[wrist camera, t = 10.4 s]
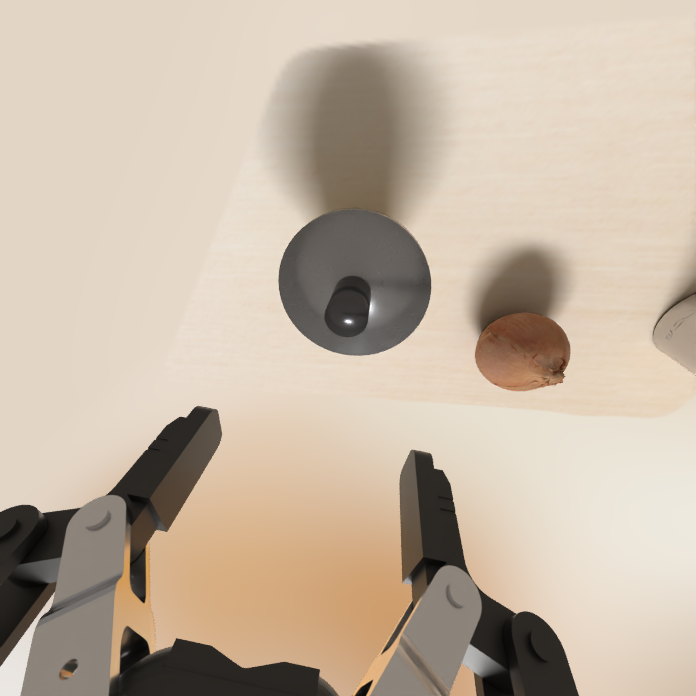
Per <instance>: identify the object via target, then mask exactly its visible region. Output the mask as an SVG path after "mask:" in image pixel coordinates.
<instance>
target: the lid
mask: <svg viewBox="0 0 696 696" xmlns="http://www.w3.org/2000/svg"><path fill="white" fill-rule="evenodd" d="M279 291H280V296H281V300H282V303H283V306H284V308H285V310H286V312H287V314H288V316H289V318H290V319H291V321H292V322H293V324H294V325H295V326H296V327H297V329H298V330H299V331H300V332H301V333H302V334H303V335H304V336H306V337H307V338H308V339H309V340H311V341H312V342H314V343H315V344H317V345H319V346H321V347H323V348H325V349H327V350H330V351H333V352H336V353H340V354H345V355H358V356H361V355H370V354H375V353H379V352H382V351H385V350H388V349H390V348H392V347H394V346H396V345H397V344H399V343H401V342H402V341H403V340H405V339H406V338H407V337H408V336H409V335H410V334H411V333H412V332H413V331H414V330H415V329H416V328H417V326H418V325H419V324H420V322H421V320H422V319H423V317H424V315H425V312H426V310H427V308H428V304H429V300H430V294H431V276H430V271H429V267H428V264H427V261H426V258H425V255H424V253H423V251H422V249H421V247H420V245H419V244H418V242H417V241H416V239H415V238H414V236H413V235H412V234H411V233H410V232H409V231H408V230H407V229H406V228H405V227H404V226H402V225H401V224H400V223H399V222H397V221H396V220H394V219H392V218H390V217H389V216H387V215H384V214H382V213H379V212H376V211H372V210H368V209H360V208H345V209H340V210H334V211H331V212H328V213H326V214H323V215H321V216H319V217H317V218H316V219H314V220H312V221H311V222H310V223H308V224H307V225H306V226H304V227H303V228H302V229H301V230H300V231H299V232H298V233H297V234H296V235H295V236H294V238H293V239H292V240H291V242H290V243H289V245H288V247H287V248H286V250H285V252H284V255H283V258H282V261H281V265H280V269H279Z"/></svg>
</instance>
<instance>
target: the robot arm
mask: <svg viewBox="0 0 696 696" xmlns="http://www.w3.org/2000/svg"><path fill="white" fill-rule="evenodd" d="M653 340H654V344H655V345H656V347H657V348H658V349H659V350H660V351H661V352H663V353H664V354H666V355H667V356H669V357H670V358H671V359H673V360H674V361H676V362H677V363H679V364H680V365H681V366H683V367H684V368H686V369H687V370H688V371H690V372H691V373H693V374H694V375H695V376H696V294H694V295H691V296H690V297H688V298H686V299H684V300H683V301H681V302H679V303H678V304H677V305H675V306H674V307H673V308H671V309H670V310H669V311H668V312H667V313H666V314H665V315H664V316H663V317H662V318H661V320H660V321H659V322H658V324H657V326H656V328H655V330H654V335H653ZM221 436H222V431H221V425H220V420H219V414H218V411H217V410H216V409H211V408H207V407H201V406H197V407H195V408H194V409H193V410H192V411H191V413H190V414H189V415H188V416H187V418H184V417H179V418H177V419H176V420H174V421H173V422H171V423H170V424H168V425H167V426H166V427H165V428H164V429H163V430H162V432H161V433H160V434H159V435H158V436H157V438H156V440H154V441H153V442H152V444H151V445H150V446H149V447H148V450H146V451H145V452H144V453H143V455H141V457H140V458H139V459H138V460H137V461H136V463H135V464H134V465H133V466H132V467H131V468H130V470H129V471H128V472H127V473H126V474H125V476H124V477H123V478H122V479H121V480H120V482H119V483H118V484H117V485H116V486H115V487H114V488H113V489H112V490H111V491H110V492H109V493H108V494H107V495H106V496H103V497H99V498H97V499H95V500H93V501H91V502H89V503H87V504H86V505H84V506H83V507H81V508H77V509H70V510H63V511H55V512H47V513H41V512H40V511H39V510H38V509H37V508H36V507H34V506H31V505H19V506H15V507H11V508H9V509H6V510H4V511H2V512H0V666H1V665H2V664H3V662H4V661H5V659H6V658H7V657H8V655H9V654H10V652H11V651H12V650H13V648H14V647H15V646H16V644H17V643H18V641H19V640H20V639H21V637H22V636H23V635H24V633H25V632H26V630H27V629H28V628H29V626H30V625H31V624H32V622H33V621H34V619H35V618H36V617H37V615H38V614H39V612H40V611H41V610H42V608H43V607H44V606H45V604H46V603H47V601H48V600H49V599H50V597H51V596H52V595H53V593H54V592H55V595H54V600H53V604H52V607H51V608H50V610H49V611H48V612H47V613H46V614H44V615H43V616H42V617H41V618H40V620H39V622H38V624H37V626H36V628H35V632H34V635H33V639H32V644H31V649H30V654H29V658H28V663H27V668H26V673H25V677H24V682H23V687H22V692H21V696H339V695H338V694H337V693H336V692H335V690H334V689H333V688H332V687H331V686H330V685H329V684H328V683H327V682H326V681H325V680H324V679H322V678H321V677H319V672H320V670H319V669H315V668H311V667H306V666H301V665H296V664H292V663H288V662H280V663H275V664H269V665H264V666H258V667H252V668H242V667H240V666H239V665H237V664H236V663H234V662H233V661H232V660H230V659H229V658H227V657H226V656H225V655H223V654H222V653H221V652H219V651H218V650H216V649H215V648H213V647H212V646H210V645H205V644H200V643H195V642H191V641H187V640H182V639H177V638H176V641H175V643H174V645H173V646H172V647H168V648H165V649H162V650H159V651H156V638H155V637H156V635H155V622H154V616H153V612H152V609H151V601H150V550H149V540H150V538H151V537H152V535H153V534H154V532H155V531H156V530H161V531H165V532H167V531H168V529H169V528H170V526H171V524H172V523H173V521H174V520H175V518H176V516H177V515H178V513H179V511H180V510H181V508H182V506H183V504H184V503H185V501H186V499H187V498H188V496H189V495H190V493H191V491H192V490H193V488H194V486H195V484H196V483H197V481H198V480H199V478H200V476H201V474H202V473H203V471H204V470H205V468H206V466H207V465H208V463H209V461H210V460H211V458H212V456H213V455H214V453H215V451H216V449H217V448H218V446H219V444H220V441H221ZM400 515H401V547H402V581H403V583H406V584H410V585H412V600H411V601H410V603H409V605H408V606H407V608H406V610H405V611H404V613H403V615H402V616H401V618H400V620H399V621H398V623H397V625H396V626H395V628H394V630H393V631H392V633H391V635H390V636H389V638H388V640H387V641H386V643H385V645H384V646H383V648H382V650H381V651H380V653H379V654H378V656H377V657H376V659H375V660H374V661H373V663H372V664H371V666H370V667H369V669H368V670H367V672H366V674H365V675H364V677H363V678H362V680H361V682H360V683H359V685H358V687H357V689H356V690H355V691H354V693H353V695H352V696H449V694H450V690H451V688H452V685H453V683H454V680H455V678H456V675H457V673H458V670H459V668H460V666H461V663H462V664H463V665H465V666H466V667H468V668H469V669H470V670H472V671H473V672H474V677H475V686H476V693H477V696H579V695H578V692H577V689H576V685H575V682H574V679H573V676H572V673H571V670H570V667H569V663H568V660H567V657H566V654H565V651H564V649H563V647H562V644H561V642H560V640H559V639H558V637H557V635H556V634H555V632H554V631H553V630H552V629H551V627H550V626H549V625H548V624H547V623H546V622H545V621H544V620H543V619H541V618H540V617H539V616H537V615H535V614H533V613H530V612H520V613H518V614H516V613H514V612H512V611H511V610H509V609H508V608H506V607H504V606H503V605H501V604H500V603H498V602H496V601H495V600H493V599H491V598H490V597H488V596H487V595H486V594H484V593H483V592H482V591H481V590H480V589H479V588H478V587H477V585H476V584H475V583H474V581H473V580H472V578H471V576H470V574H469V573H468V570H467V567H466V565H465V560H464V555H463V549H462V544H461V539H460V534H459V528H458V523H457V518H456V514H455V507H454V502H453V496H452V491H451V486H450V483H449V481H448V479H447V477H446V476H445V474H444V472H443V470H438V469H434V465H433V459H432V455H431V454H430V453H426V452H421V451H416V450H411V451H410V454H409V455H408V458H407V460H406V462H405V464H404V466H403V469H402V472H401V475H400ZM73 673H74V674H73Z"/></svg>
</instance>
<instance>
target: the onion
mask: <svg viewBox="0 0 696 696" xmlns="http://www.w3.org/2000/svg"><path fill="white" fill-rule="evenodd" d="M488 325H489V324H488ZM475 359H476V364H477V366H478V368H479V370H480V372H481V373H482V374H483V376H484V377H485V378H486V379H488V380H489V381H490V382H491V383H493V384H494V385H497V386H499V387H501V388H504V389H507V390H511V391H528V390H533V389H537V388H540V387H545V386H550V385H553V384H554V385H555V384H557V383H563V378H564V377H566V376H564V374H563V372H564V370H565V369H566V367H567V365H568V362H569V359H570V344H569V341H568V338H567V336H566V334H565V332H564V331H563V329H562V328H561V327H560V326H559V325H558V324H557V323H556V322H554V321H553V320H551V319H549V318H547V317H544V316H542V315H538V314H534V313H514V314H510V315H506V316H504V317H501V318H499V319H497V320H495V321H493V322H491V323H490V325H489V326H487V327H486V328H485V330H484V331H483V333H482V334H481V335H480V336H479V340H478V342H477V346H476V351H475ZM561 381H562V382H561Z"/></svg>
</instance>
